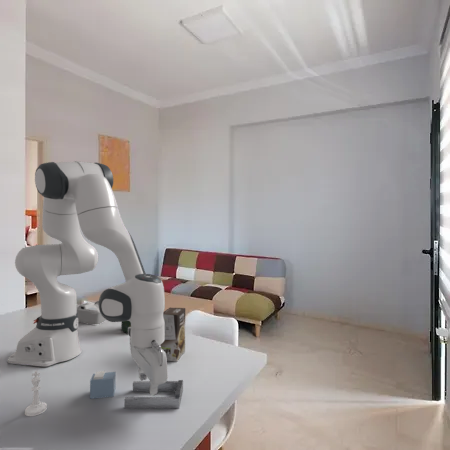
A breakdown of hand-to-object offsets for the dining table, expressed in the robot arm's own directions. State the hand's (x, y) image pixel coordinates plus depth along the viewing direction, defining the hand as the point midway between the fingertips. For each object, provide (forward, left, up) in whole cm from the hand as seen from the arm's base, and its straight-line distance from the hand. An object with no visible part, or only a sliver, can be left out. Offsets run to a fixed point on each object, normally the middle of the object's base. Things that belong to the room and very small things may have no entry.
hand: (147, 386), depth 86 cm
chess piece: (-27, -5, -4) cm, 28 cm away
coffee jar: (-18, +52, -4) cm, 55 cm away
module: (-13, +3, -4) cm, 14 cm away
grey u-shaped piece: (+2, 0, -3) cm, 4 cm away
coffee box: (+3, +27, -4) cm, 27 cm away
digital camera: (-41, +66, -4) cm, 78 cm away
